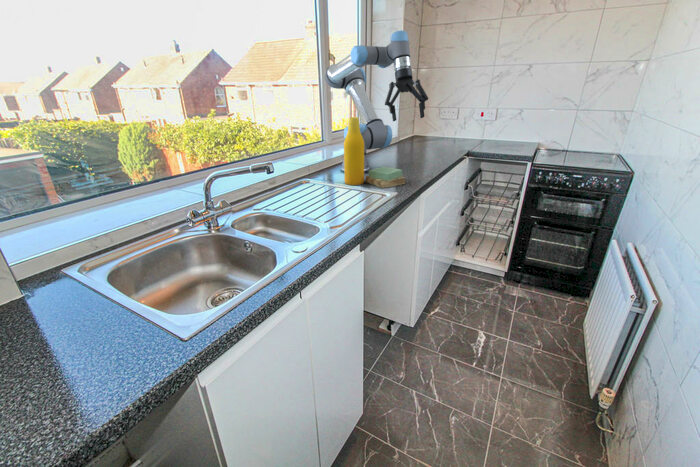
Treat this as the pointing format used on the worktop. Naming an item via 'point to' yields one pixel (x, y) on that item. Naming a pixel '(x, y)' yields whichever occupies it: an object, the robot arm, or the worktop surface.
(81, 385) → the worktop surface
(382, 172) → the top block
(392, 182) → the base block
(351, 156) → the beer bottle
